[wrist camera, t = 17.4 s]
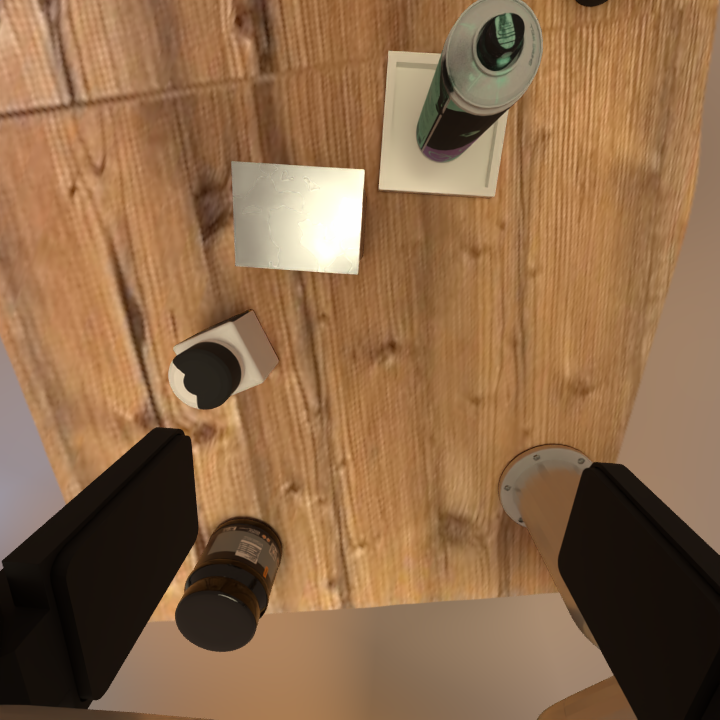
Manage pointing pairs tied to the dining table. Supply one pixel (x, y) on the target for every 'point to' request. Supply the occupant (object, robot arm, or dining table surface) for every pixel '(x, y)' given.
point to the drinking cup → (591, 2)
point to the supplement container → (229, 586)
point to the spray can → (478, 75)
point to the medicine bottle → (221, 362)
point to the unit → (298, 217)
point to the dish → (399, 144)
